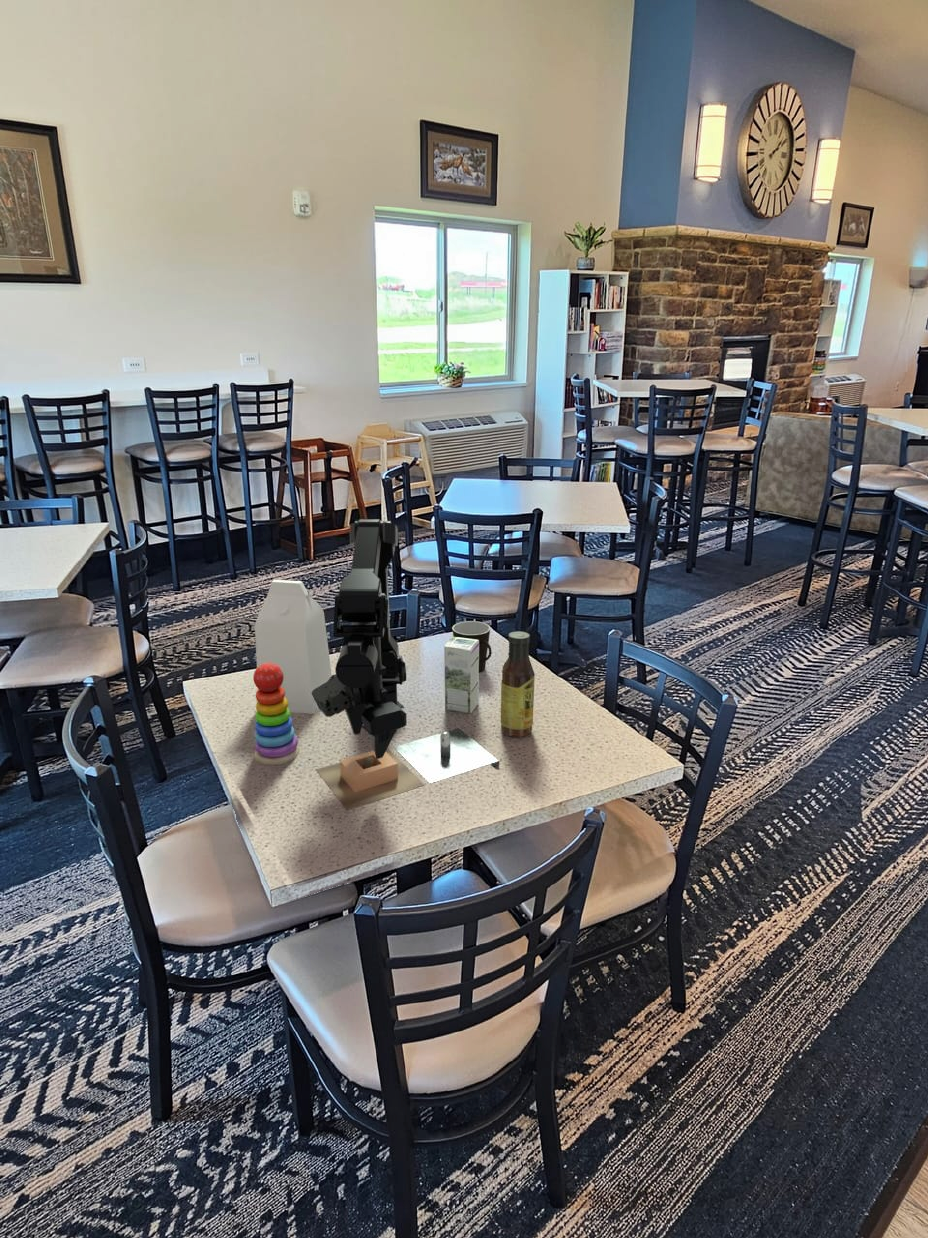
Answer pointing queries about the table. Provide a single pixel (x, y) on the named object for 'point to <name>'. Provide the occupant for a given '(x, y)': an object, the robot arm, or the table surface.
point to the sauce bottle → (517, 687)
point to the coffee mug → (478, 633)
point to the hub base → (446, 764)
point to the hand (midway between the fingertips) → (367, 745)
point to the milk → (294, 642)
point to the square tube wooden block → (368, 771)
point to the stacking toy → (273, 718)
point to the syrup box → (461, 674)
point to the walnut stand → (369, 795)
